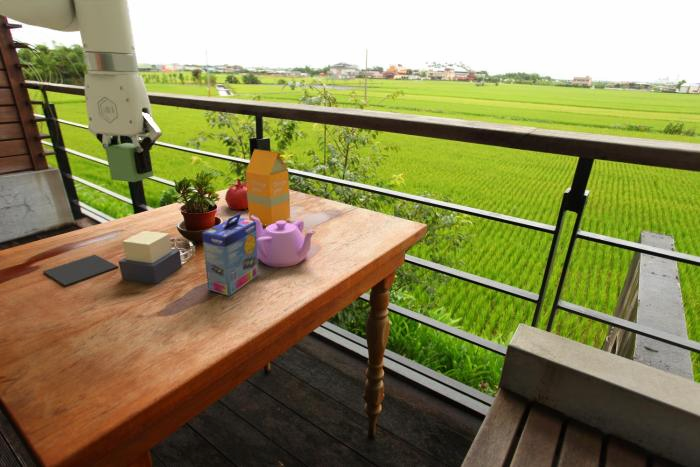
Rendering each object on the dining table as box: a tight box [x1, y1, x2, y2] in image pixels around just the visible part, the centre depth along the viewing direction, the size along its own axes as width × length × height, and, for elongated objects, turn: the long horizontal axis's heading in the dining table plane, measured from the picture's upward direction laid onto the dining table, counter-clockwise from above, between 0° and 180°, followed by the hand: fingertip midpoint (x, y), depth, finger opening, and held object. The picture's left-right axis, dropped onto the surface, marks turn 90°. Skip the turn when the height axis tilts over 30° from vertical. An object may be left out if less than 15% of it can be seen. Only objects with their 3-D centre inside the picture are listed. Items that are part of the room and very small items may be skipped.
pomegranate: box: [224, 178, 248, 211], centre depth 120 cm, size 10×10×9 cm
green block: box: [104, 142, 154, 183], centre depth 72 cm, size 5×5×6 cm
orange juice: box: [245, 148, 291, 227], centre depth 107 cm, size 8×9×20 cm
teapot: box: [251, 215, 317, 268], centre depth 87 cm, size 12×14×9 cm
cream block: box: [122, 230, 173, 263], centre depth 78 cm, size 6×6×4 cm
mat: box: [42, 254, 119, 288], centre depth 81 cm, size 10×10×1 cm
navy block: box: [117, 248, 183, 285], centre depth 80 cm, size 8×8×4 cm
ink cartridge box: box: [201, 212, 259, 297], centre depth 74 cm, size 10×6×14 cm, turn 158°
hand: (131, 170), depth 72 cm, fingers closed on green block, 5 cm apart
